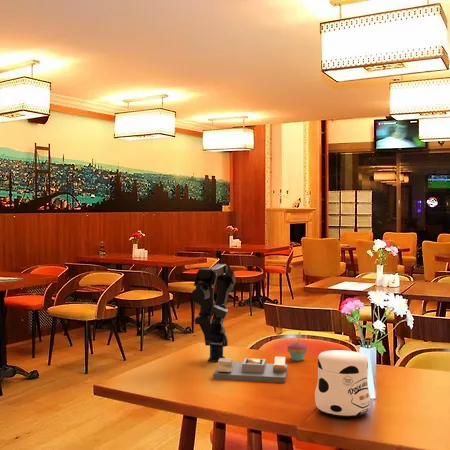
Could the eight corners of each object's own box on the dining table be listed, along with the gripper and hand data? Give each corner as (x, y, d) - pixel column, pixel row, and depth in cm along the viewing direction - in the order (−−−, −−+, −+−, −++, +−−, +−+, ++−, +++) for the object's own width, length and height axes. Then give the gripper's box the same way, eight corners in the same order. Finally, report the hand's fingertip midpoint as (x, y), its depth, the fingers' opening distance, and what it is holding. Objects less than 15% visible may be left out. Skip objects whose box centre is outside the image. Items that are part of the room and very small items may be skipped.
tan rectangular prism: (219, 368, 227) (219, 358, 227) (232, 369, 226) (232, 358, 226) (218, 371, 223) (218, 361, 223) (231, 372, 222) (231, 361, 222)
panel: (220, 366, 239) (220, 354, 239) (287, 369, 235) (287, 356, 235) (213, 379, 222) (213, 366, 221) (285, 382, 218) (285, 369, 217)
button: (248, 365, 231) (248, 358, 231) (261, 366, 230) (261, 358, 230) (246, 369, 226) (246, 361, 226) (259, 369, 225) (259, 362, 225)
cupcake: (293, 355, 257) (293, 328, 256) (310, 358, 252) (311, 330, 251) (283, 359, 250) (283, 331, 249) (301, 363, 245) (301, 334, 244)
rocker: (275, 359, 230) (275, 356, 230) (285, 360, 230) (285, 356, 230) (274, 368, 224) (274, 364, 223) (284, 368, 223) (284, 365, 223)
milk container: (372, 423, 177) (373, 364, 176) (314, 420, 180) (314, 361, 179) (367, 404, 194) (368, 350, 193) (315, 401, 197) (315, 348, 196)
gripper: (222, 303, 227) (222, 343, 227) (229, 296, 245) (229, 333, 246) (194, 303, 229) (194, 342, 229) (203, 295, 247) (203, 332, 247)
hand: (206, 337), depth 238 cm, fingers closed
